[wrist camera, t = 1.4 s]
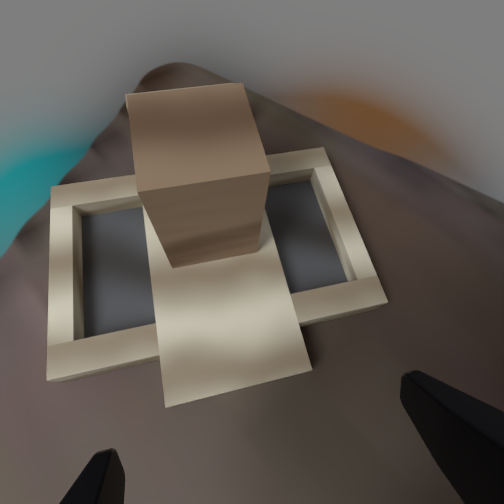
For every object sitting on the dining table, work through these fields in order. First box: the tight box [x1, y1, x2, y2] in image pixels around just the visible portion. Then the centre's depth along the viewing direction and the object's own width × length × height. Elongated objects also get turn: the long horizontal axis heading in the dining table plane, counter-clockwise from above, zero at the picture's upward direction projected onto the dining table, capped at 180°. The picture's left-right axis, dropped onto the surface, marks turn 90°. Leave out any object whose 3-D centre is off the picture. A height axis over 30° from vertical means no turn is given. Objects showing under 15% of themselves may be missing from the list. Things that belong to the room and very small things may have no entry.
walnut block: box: [127, 83, 271, 269], centre depth 19 cm, size 6×6×9 cm
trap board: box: [47, 83, 388, 408], centre depth 24 cm, size 24×22×4 cm
